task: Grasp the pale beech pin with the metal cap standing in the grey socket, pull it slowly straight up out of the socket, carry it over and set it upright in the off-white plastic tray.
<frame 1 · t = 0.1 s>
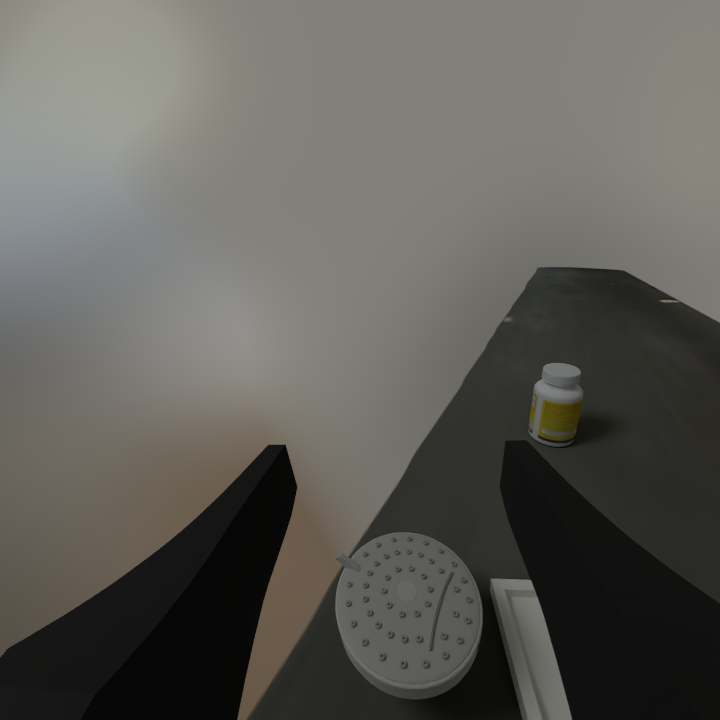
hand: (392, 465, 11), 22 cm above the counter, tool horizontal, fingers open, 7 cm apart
supplement bottle: (550, 436, 45), on the counter
showerhead: (406, 647, 25), on the counter
tray: (611, 691, 21), on the counter
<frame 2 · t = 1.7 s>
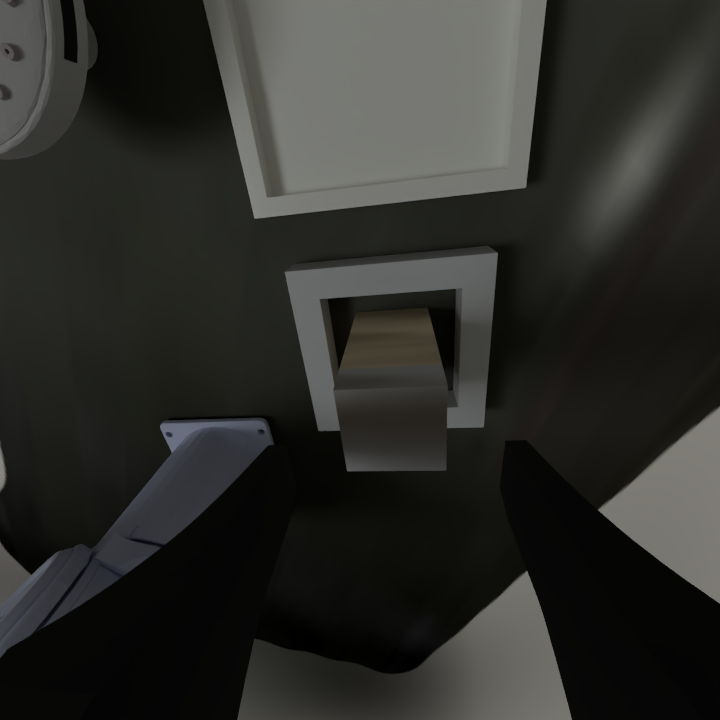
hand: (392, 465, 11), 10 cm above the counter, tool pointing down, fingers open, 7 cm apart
showerhead: (69, 37, 14), on the counter
holder: (393, 342, 20), on the counter
tray: (372, 36, 13), on the counter
peg: (393, 377, 16), in the holder
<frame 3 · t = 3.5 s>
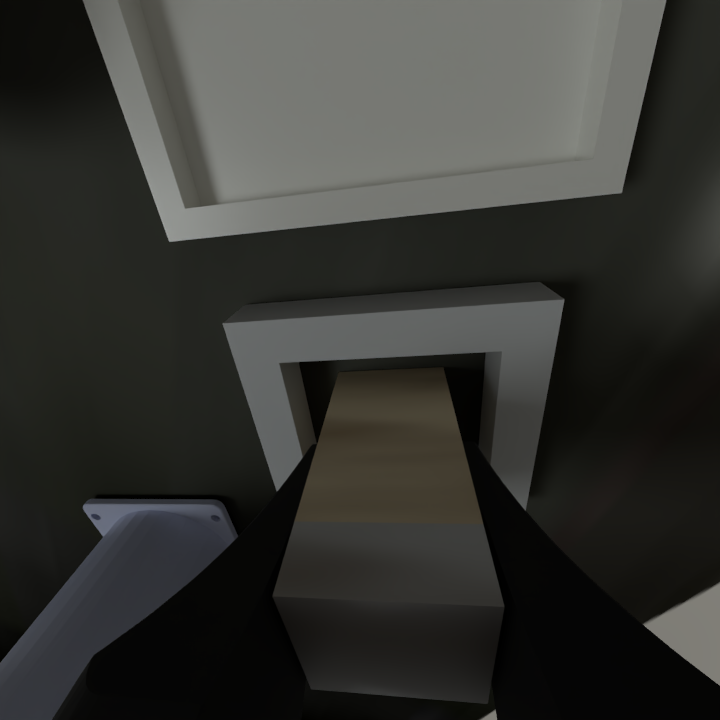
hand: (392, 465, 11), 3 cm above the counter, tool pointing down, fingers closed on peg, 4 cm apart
holder: (392, 412, 14), on the counter
peg: (392, 491, 10), in the holder, touching gripper
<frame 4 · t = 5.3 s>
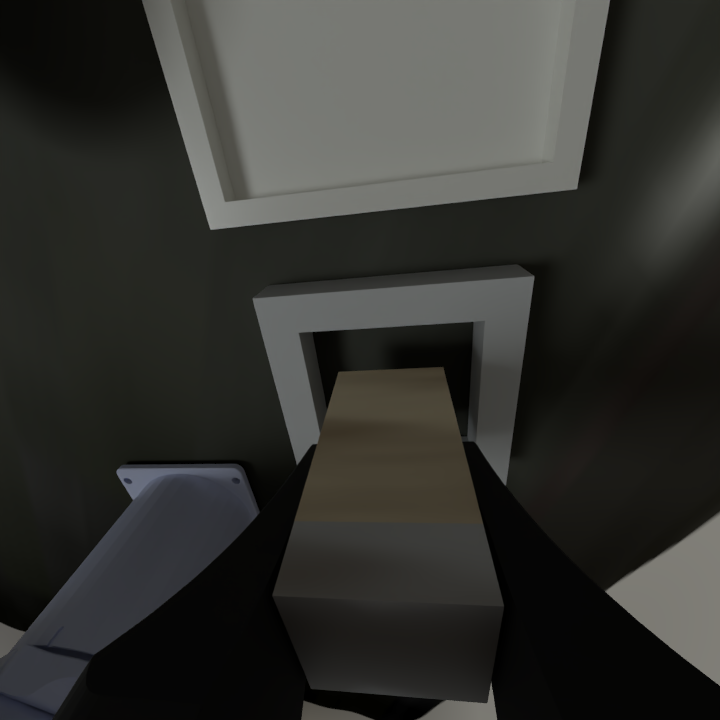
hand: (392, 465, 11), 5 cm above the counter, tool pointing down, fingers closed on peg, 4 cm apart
holder: (394, 380, 16), on the counter
peg: (392, 491, 10), point 6 cm above the counter, touching gripper
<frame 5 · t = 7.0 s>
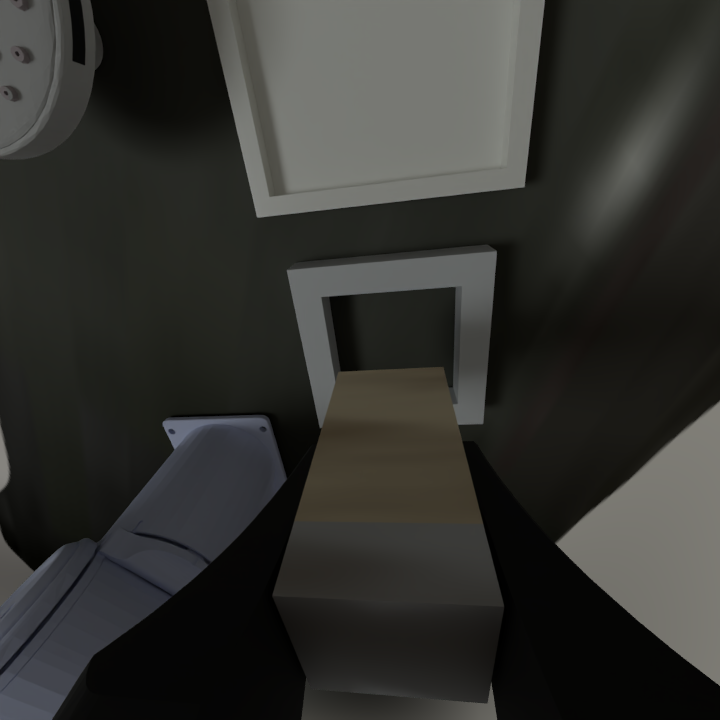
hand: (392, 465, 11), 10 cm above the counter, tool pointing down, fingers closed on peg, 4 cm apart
showerhead: (75, 39, 15), on the counter
holder: (393, 340, 20), on the counter
tray: (373, 38, 13), on the counter
peg: (392, 491, 10), point 11 cm above the counter, touching gripper
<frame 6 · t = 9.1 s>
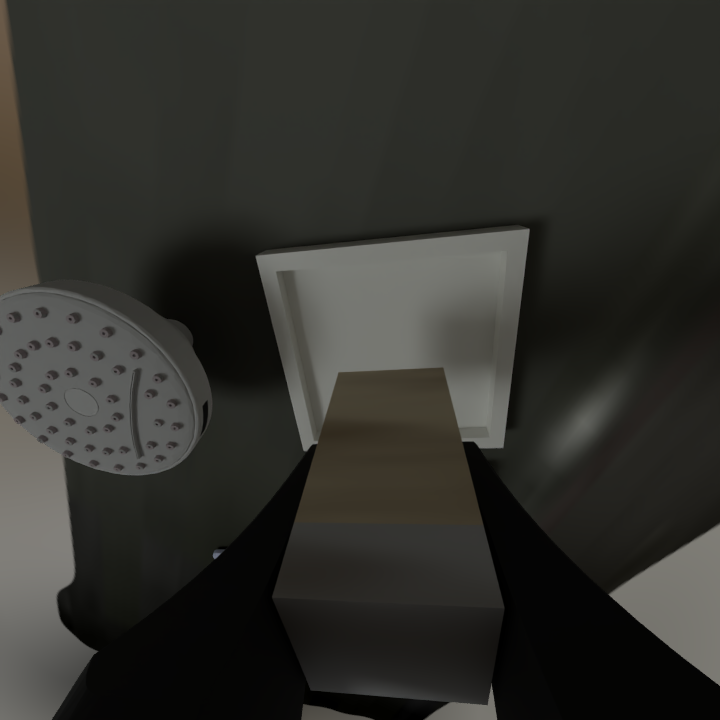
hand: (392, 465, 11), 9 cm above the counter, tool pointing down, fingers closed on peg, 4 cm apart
showerhead: (172, 333, 20), on the counter
tray: (393, 350, 19), on the counter
peg: (392, 492, 10), point 10 cm above the counter, touching gripper
when the fingers open (5 cm above the counter, at t = 10.7 s): peg drops 1 cm, resting on tray.
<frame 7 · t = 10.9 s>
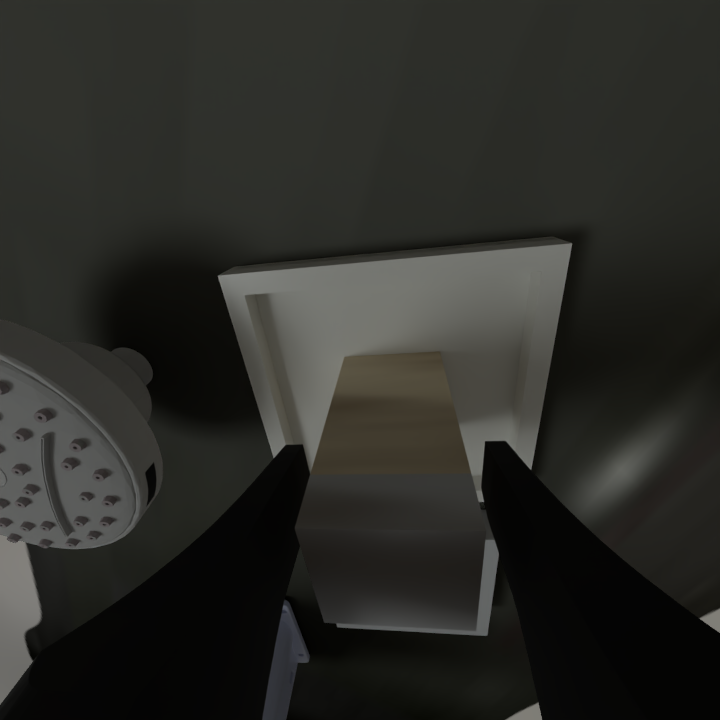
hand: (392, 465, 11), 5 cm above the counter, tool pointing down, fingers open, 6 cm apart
showerhead: (128, 363, 16), on the counter
holder: (406, 560, 22), on the counter
tray: (393, 385, 15), on the counter
peg: (393, 459, 11), point 5 cm above the counter, touching tray
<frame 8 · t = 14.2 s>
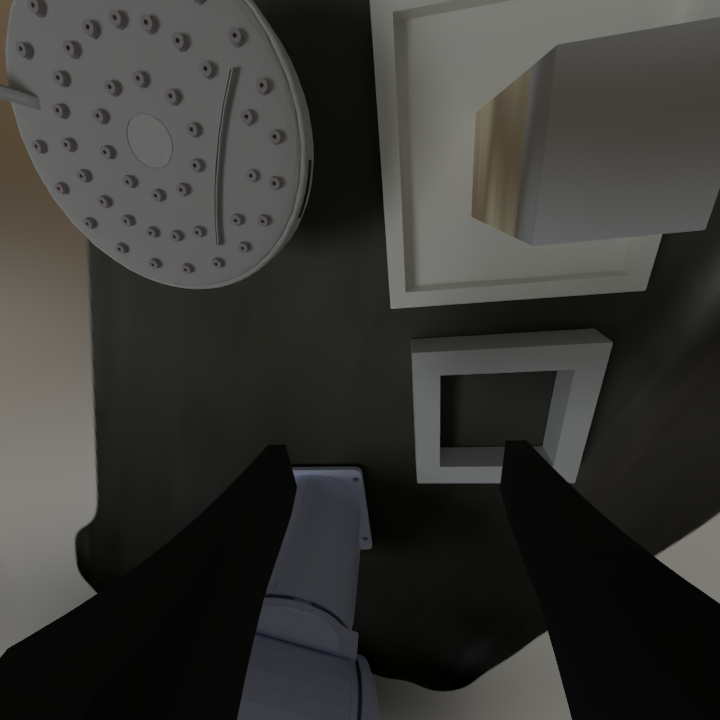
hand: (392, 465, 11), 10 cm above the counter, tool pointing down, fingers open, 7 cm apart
showerhead: (236, 154, 16), on the counter
holder: (492, 405, 21), on the counter
tray: (515, 161, 15), on the counter
peg: (560, 156, 11), point 5 cm above the counter, touching tray
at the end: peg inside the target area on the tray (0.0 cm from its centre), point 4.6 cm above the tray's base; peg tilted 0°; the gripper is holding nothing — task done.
